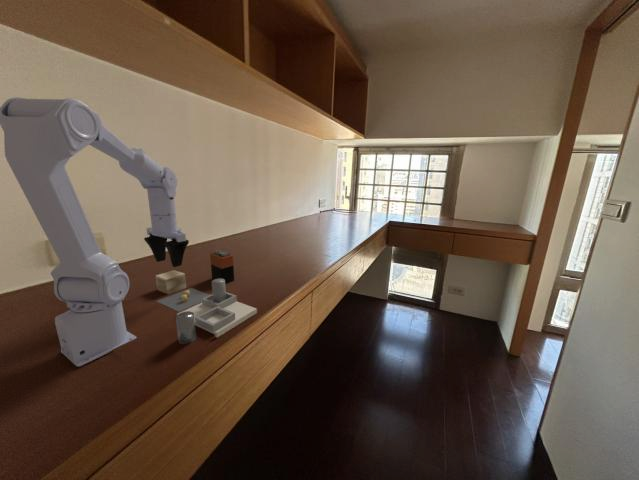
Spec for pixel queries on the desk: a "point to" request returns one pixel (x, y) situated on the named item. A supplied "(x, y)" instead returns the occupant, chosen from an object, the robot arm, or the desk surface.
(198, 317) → the build board
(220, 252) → the battery
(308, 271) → the desk surface
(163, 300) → the tile
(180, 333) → the pin
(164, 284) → the box
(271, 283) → the desk surface
